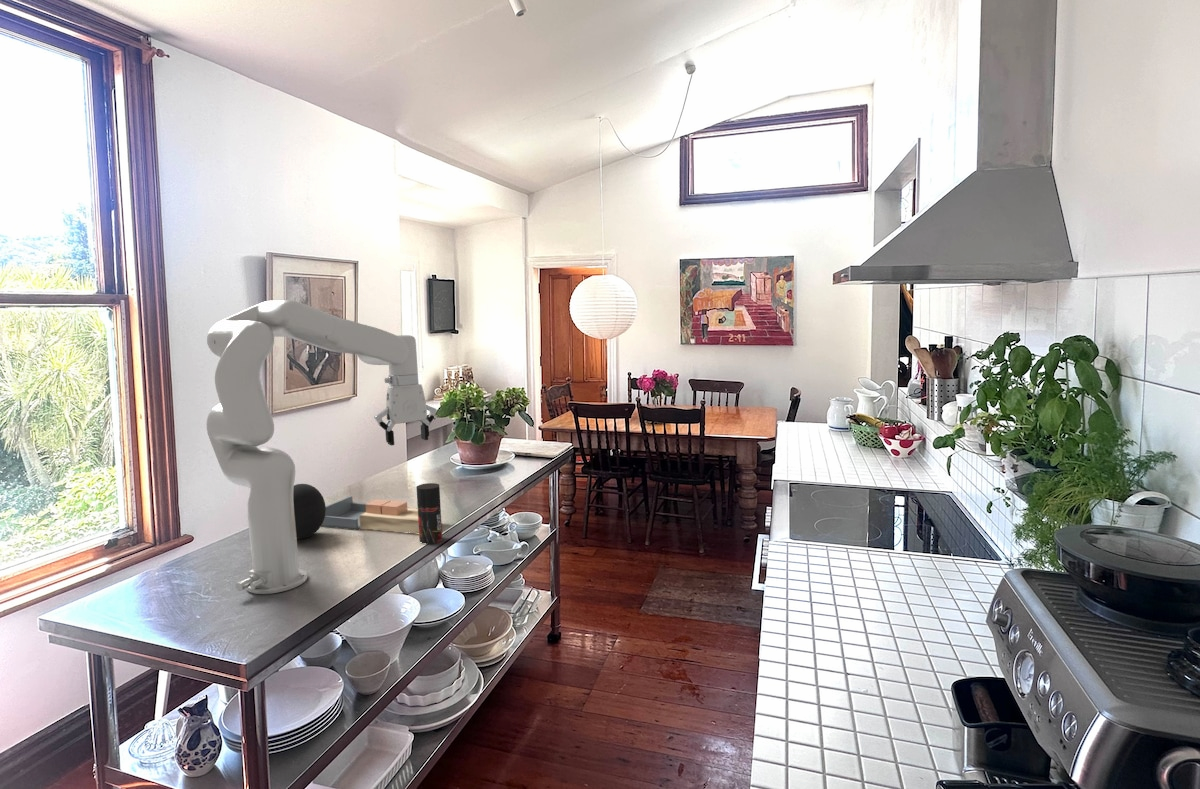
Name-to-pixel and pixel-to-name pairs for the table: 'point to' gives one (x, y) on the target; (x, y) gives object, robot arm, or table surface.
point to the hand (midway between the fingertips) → (408, 442)
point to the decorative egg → (308, 510)
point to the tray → (344, 514)
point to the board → (391, 521)
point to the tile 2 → (394, 508)
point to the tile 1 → (375, 506)
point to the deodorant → (429, 513)
